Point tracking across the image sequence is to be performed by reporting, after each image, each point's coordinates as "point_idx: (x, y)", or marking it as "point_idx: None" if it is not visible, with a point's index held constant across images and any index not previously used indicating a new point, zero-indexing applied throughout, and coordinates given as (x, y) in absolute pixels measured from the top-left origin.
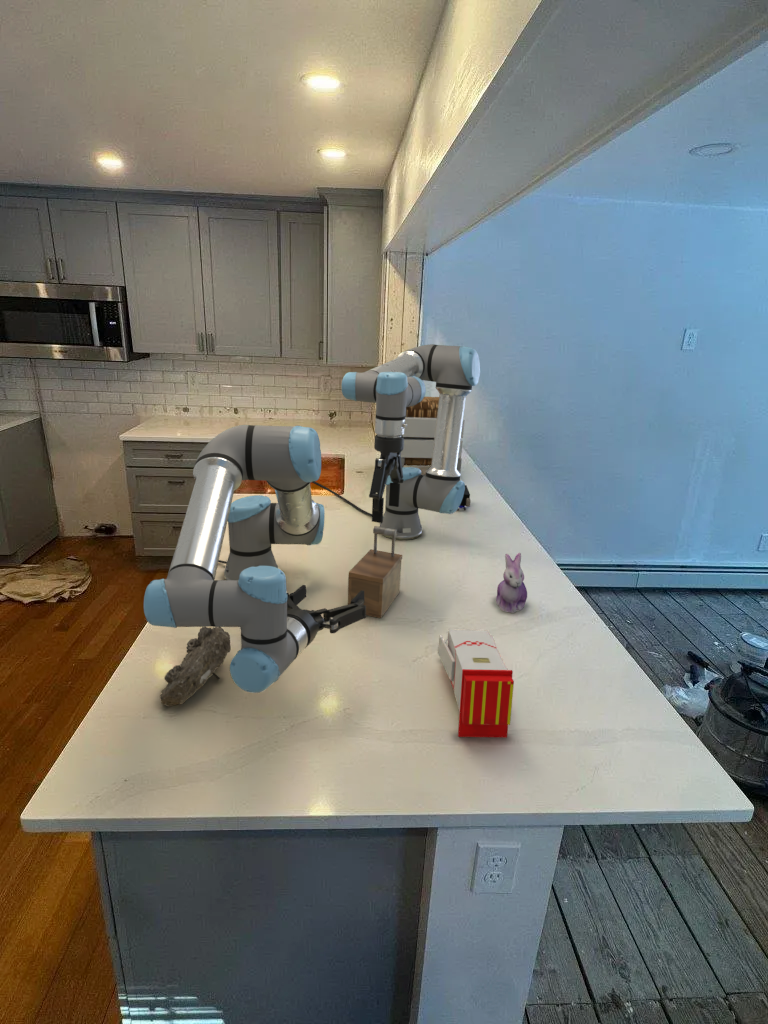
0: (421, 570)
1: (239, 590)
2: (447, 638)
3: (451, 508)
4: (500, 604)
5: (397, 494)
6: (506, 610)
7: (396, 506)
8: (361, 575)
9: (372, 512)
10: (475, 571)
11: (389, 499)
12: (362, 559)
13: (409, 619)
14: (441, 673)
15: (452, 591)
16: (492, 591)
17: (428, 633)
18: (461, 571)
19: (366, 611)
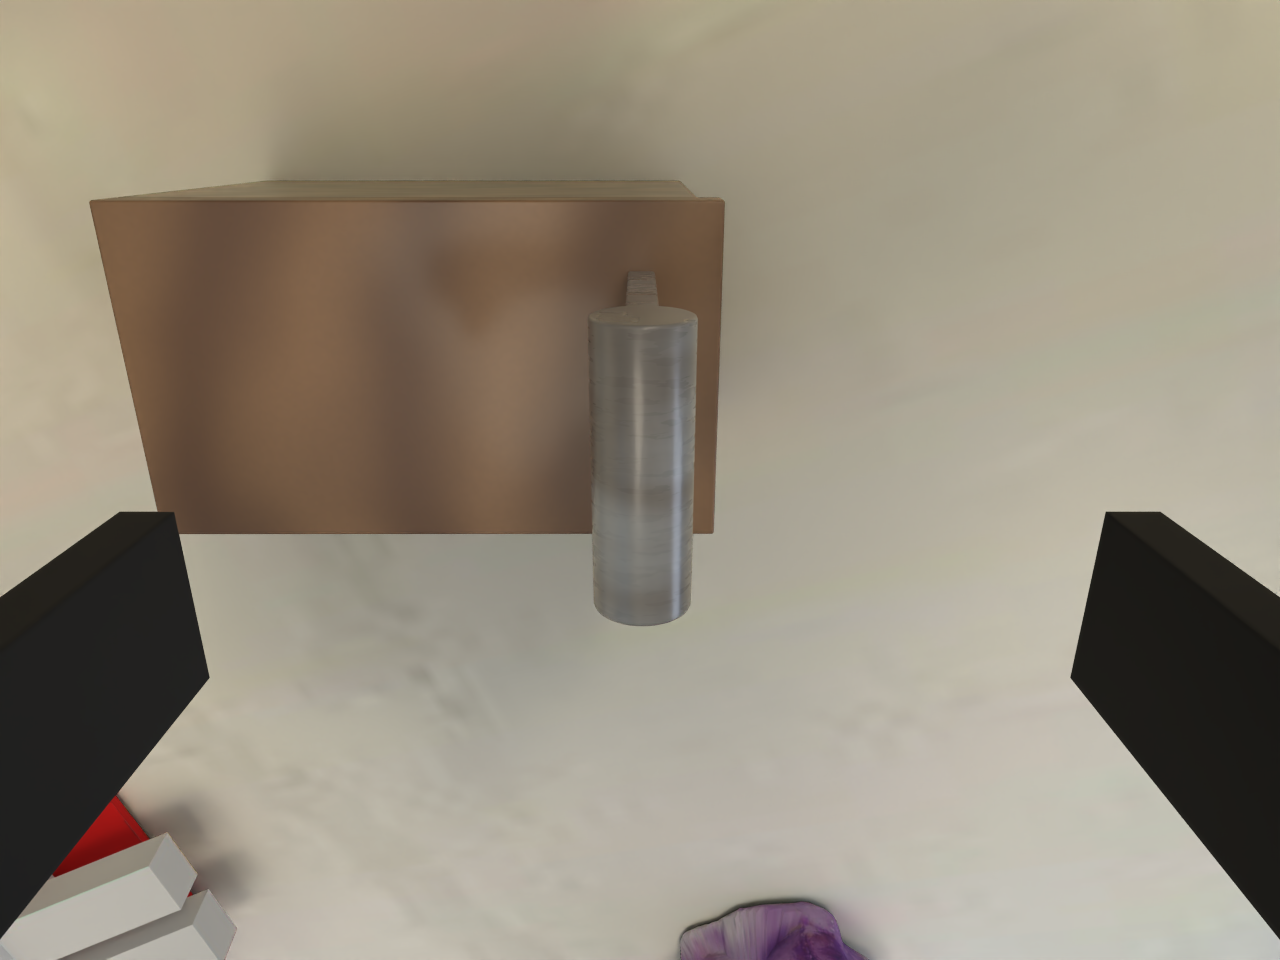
0: (1062, 460)
1: None
2: (162, 838)
3: None
4: (715, 937)
5: (1229, 837)
6: (683, 954)
7: (1079, 653)
8: (120, 338)
9: (2, 605)
10: (1133, 759)
11: (1177, 581)
12: (434, 218)
13: (381, 566)
14: None
15: (813, 696)
16: (889, 869)
17: (299, 685)
18: None
19: None
